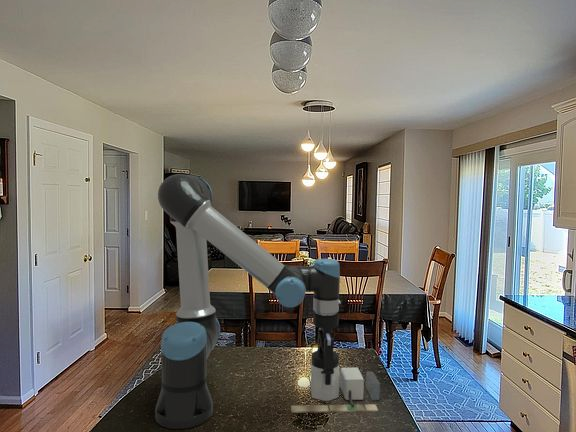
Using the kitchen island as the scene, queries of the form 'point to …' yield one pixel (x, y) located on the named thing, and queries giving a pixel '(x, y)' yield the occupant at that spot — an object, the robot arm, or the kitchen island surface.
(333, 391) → the jar
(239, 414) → the kitchen island surface
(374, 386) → the two-tone gray brick
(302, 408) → the strip
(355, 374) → the carriage
